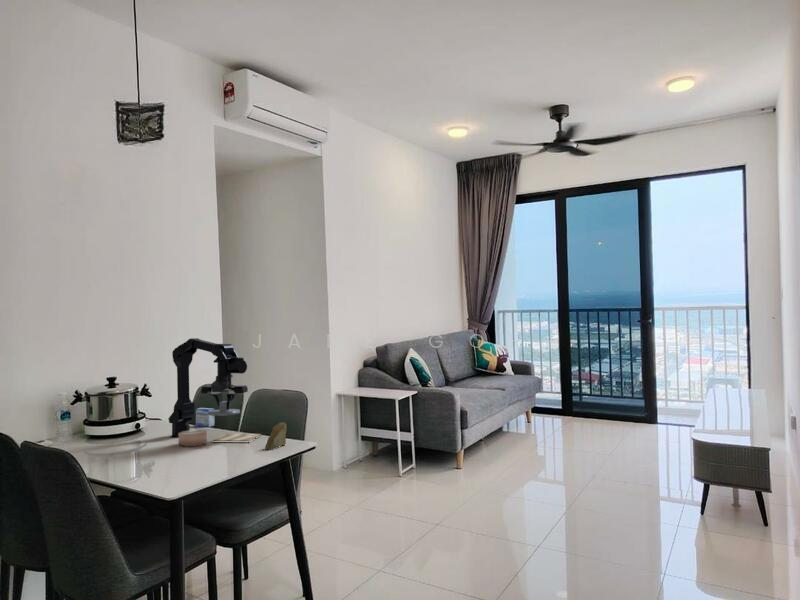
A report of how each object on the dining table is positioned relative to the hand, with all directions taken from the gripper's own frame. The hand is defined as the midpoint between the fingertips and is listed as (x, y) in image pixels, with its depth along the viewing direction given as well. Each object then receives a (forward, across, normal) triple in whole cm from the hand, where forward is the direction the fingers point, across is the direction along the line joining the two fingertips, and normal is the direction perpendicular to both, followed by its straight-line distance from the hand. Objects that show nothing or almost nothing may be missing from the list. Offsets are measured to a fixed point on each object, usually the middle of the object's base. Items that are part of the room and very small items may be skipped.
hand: (224, 409), depth 230 cm
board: (+13, +4, +4) cm, 15 cm away
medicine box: (+13, -25, +34) cm, 45 cm away
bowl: (+13, -10, -8) cm, 18 cm away
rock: (+14, +26, -10) cm, 31 cm away
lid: (+2, 0, 0) cm, 2 cm away
